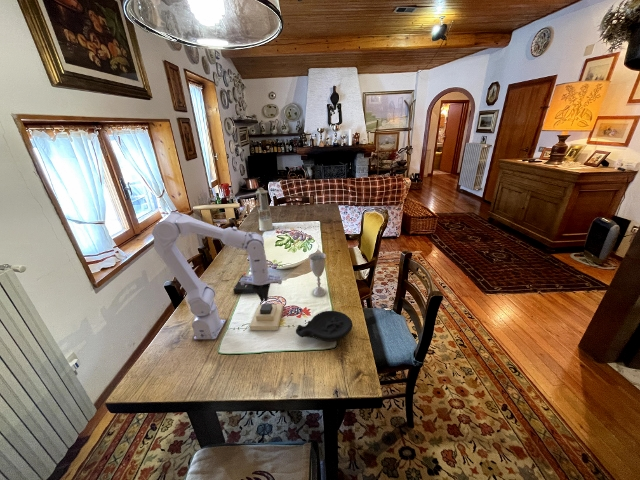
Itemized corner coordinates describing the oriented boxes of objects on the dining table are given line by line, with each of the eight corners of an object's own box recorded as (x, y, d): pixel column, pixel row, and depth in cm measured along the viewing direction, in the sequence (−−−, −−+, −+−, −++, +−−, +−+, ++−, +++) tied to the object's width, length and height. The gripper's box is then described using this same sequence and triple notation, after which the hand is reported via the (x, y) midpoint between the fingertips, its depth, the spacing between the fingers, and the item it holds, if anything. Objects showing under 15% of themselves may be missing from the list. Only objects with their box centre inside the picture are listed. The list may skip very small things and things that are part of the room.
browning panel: (256, 293, 112) (255, 288, 111) (234, 293, 113) (233, 288, 111) (263, 278, 123) (262, 274, 122) (243, 279, 123) (242, 274, 122)
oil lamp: (294, 324, 93) (293, 313, 91) (345, 315, 96) (345, 304, 94) (299, 357, 80) (298, 345, 78) (358, 345, 83) (358, 333, 81)
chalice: (317, 286, 115) (314, 251, 107) (330, 290, 111) (328, 254, 104) (308, 295, 109) (305, 258, 102) (321, 299, 106) (319, 262, 98)
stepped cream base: (277, 330, 91) (276, 321, 89) (250, 330, 92) (248, 321, 90) (283, 308, 102) (282, 300, 100) (259, 308, 102) (257, 300, 101)
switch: (270, 314, 94) (269, 310, 93) (260, 314, 94) (259, 310, 93) (272, 308, 97) (271, 303, 96) (263, 308, 97) (262, 303, 96)
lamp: (274, 225, 190) (269, 185, 177) (271, 232, 178) (265, 190, 165) (261, 226, 190) (254, 186, 178) (256, 232, 178) (249, 190, 166)
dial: (253, 282, 116) (252, 275, 114) (251, 283, 115) (249, 276, 113) (246, 279, 118) (244, 272, 117) (243, 280, 117) (242, 273, 116)
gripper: (281, 261, 91) (285, 292, 96) (242, 262, 92) (248, 293, 97) (278, 272, 84) (282, 304, 90) (235, 272, 85) (242, 305, 91)
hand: (264, 299), depth 93 cm, fingers closed
